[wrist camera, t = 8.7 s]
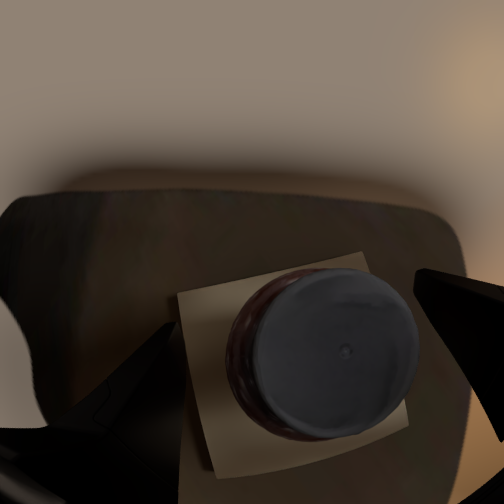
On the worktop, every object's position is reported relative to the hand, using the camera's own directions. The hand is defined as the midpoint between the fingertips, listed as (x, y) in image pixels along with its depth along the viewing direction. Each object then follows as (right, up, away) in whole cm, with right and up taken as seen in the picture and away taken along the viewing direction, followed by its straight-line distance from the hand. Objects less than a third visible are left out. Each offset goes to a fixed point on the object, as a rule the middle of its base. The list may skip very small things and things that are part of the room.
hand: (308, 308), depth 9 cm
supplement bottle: (+1, -5, +7) cm, 8 cm away
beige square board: (+1, -6, +7) cm, 9 cm away
